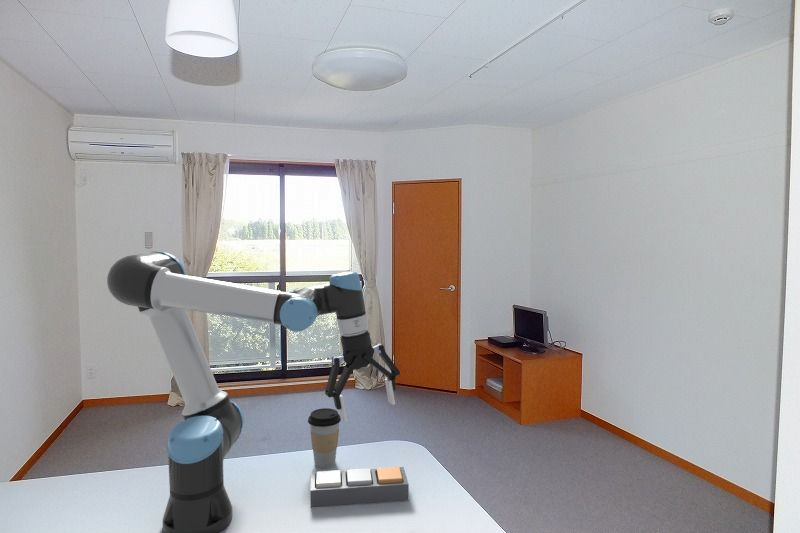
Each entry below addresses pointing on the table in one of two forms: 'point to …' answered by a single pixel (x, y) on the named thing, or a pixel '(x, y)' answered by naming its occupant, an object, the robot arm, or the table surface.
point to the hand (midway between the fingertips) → (368, 411)
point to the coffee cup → (324, 436)
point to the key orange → (389, 475)
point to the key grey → (359, 477)
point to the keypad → (358, 492)
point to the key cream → (328, 479)
